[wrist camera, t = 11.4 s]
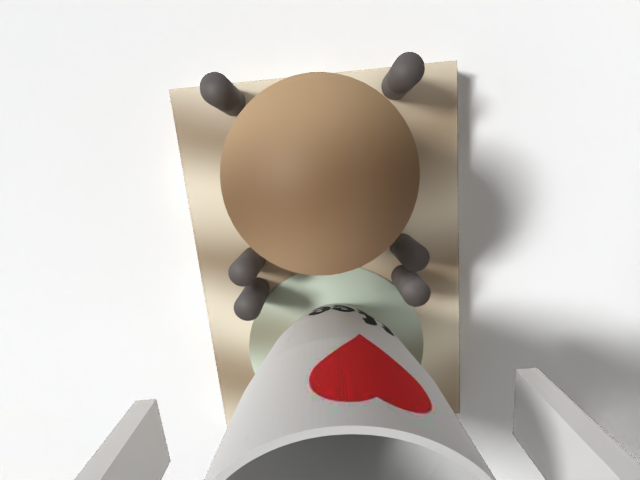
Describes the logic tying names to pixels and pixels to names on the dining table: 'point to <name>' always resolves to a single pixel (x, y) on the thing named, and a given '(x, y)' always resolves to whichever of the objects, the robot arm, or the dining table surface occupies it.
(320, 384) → the cup
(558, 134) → the dining table surface
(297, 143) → the wooden round post
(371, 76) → the pin board
